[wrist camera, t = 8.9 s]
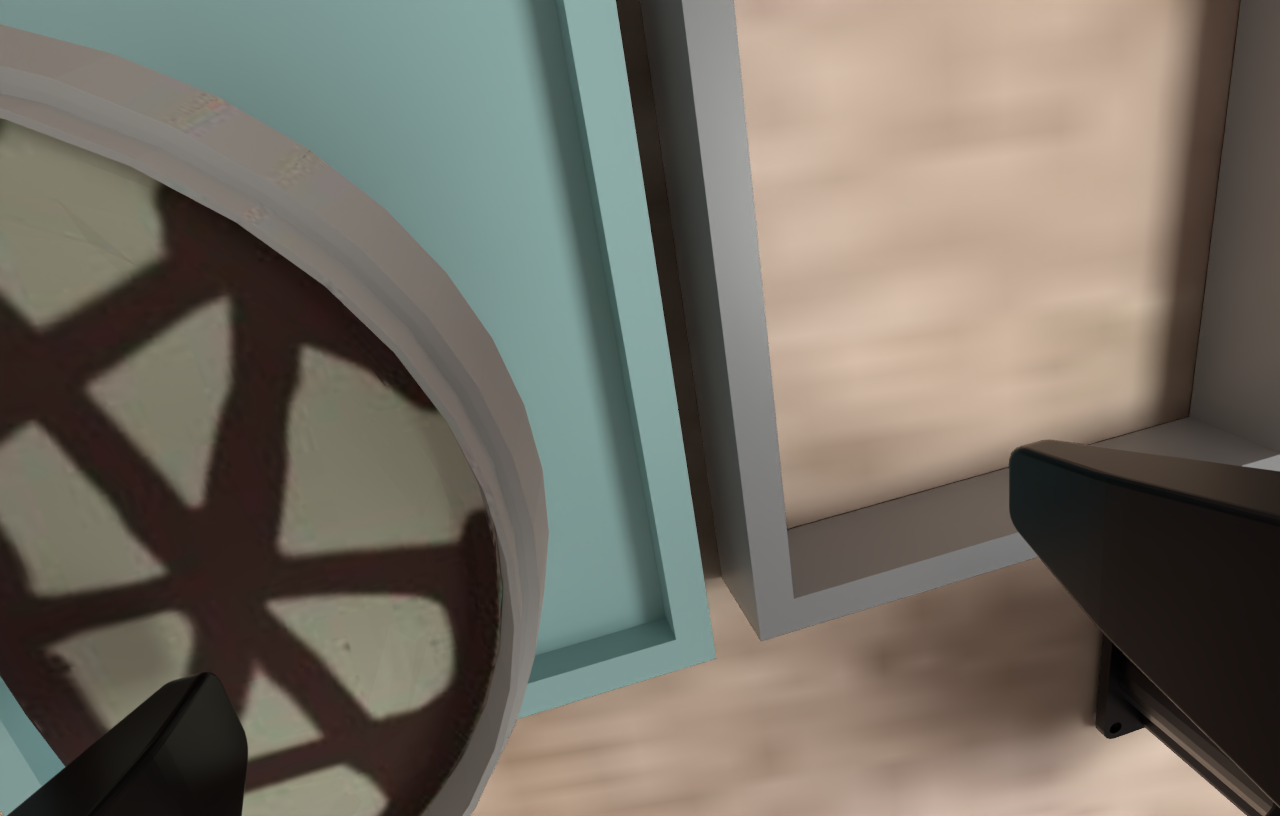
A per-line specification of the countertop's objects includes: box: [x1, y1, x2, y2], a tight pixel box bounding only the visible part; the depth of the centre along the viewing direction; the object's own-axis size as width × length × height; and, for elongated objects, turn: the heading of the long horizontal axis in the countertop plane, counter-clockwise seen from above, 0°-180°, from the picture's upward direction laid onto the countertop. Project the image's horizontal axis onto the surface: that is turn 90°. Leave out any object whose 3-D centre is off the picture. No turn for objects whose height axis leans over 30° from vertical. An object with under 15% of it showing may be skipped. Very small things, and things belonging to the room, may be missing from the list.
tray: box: [0, 0, 716, 816], centre depth 17 cm, size 22×17×2 cm
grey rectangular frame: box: [640, 0, 1280, 641], centre depth 19 cm, size 22×17×3 cm
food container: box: [0, 24, 549, 816], centre depth 13 cm, size 12×6×10 cm, turn 7°
